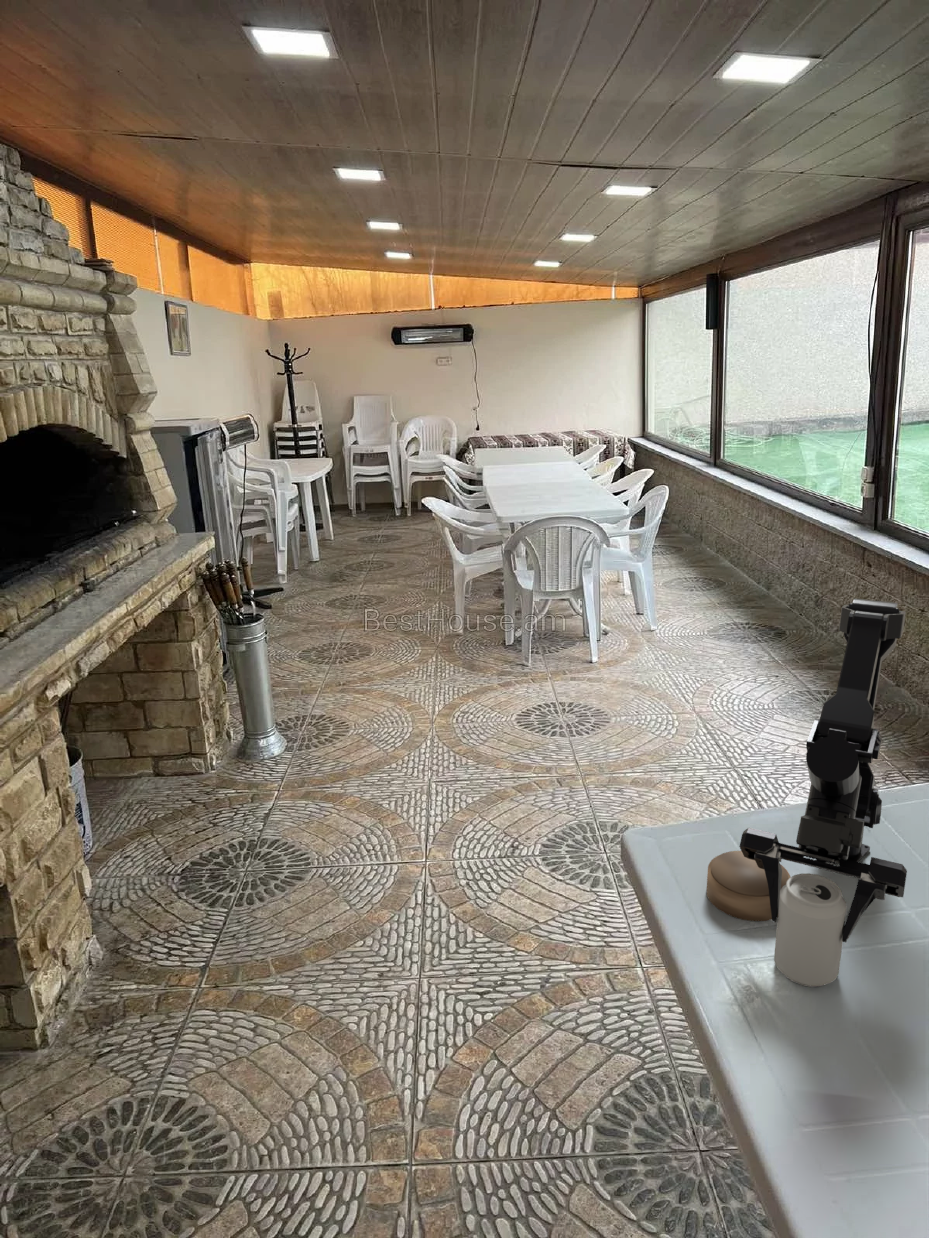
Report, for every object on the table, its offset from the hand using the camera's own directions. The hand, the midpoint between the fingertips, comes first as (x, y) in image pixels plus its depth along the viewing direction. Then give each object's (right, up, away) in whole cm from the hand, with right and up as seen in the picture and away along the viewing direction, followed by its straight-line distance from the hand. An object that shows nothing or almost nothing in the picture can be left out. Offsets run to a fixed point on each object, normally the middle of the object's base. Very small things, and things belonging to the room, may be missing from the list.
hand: (808, 931), depth 103 cm
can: (+1, -6, +3) cm, 7 cm away
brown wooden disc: (-2, -1, +17) cm, 18 cm away
